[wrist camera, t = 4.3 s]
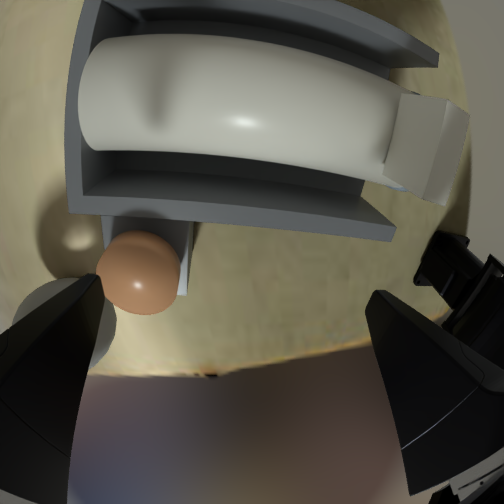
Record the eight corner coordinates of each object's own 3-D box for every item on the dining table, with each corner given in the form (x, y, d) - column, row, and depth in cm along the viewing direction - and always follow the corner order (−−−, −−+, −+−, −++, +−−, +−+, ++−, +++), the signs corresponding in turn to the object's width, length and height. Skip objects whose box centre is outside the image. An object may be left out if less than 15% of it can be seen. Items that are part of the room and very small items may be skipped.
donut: (47, 296, 21) (8, 373, 13) (36, 268, 19) (-14, 345, 11) (132, 302, 22) (107, 398, 14) (125, 271, 21) (88, 371, 12)
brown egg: (189, 203, 16) (178, 248, 12) (186, 262, 19) (178, 318, 14) (123, 199, 16) (89, 241, 11) (127, 257, 18) (103, 310, 13)
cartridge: (389, 92, 14) (495, 110, 6) (370, 173, 17) (458, 235, 9) (132, 46, 11) (51, 9, 3) (121, 141, 14) (38, 190, 7)
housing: (384, 57, 14) (439, 53, 9) (331, 263, 22) (359, 311, 17) (125, 15, 10) (88, -13, 5) (112, 246, 19) (85, 295, 14)
